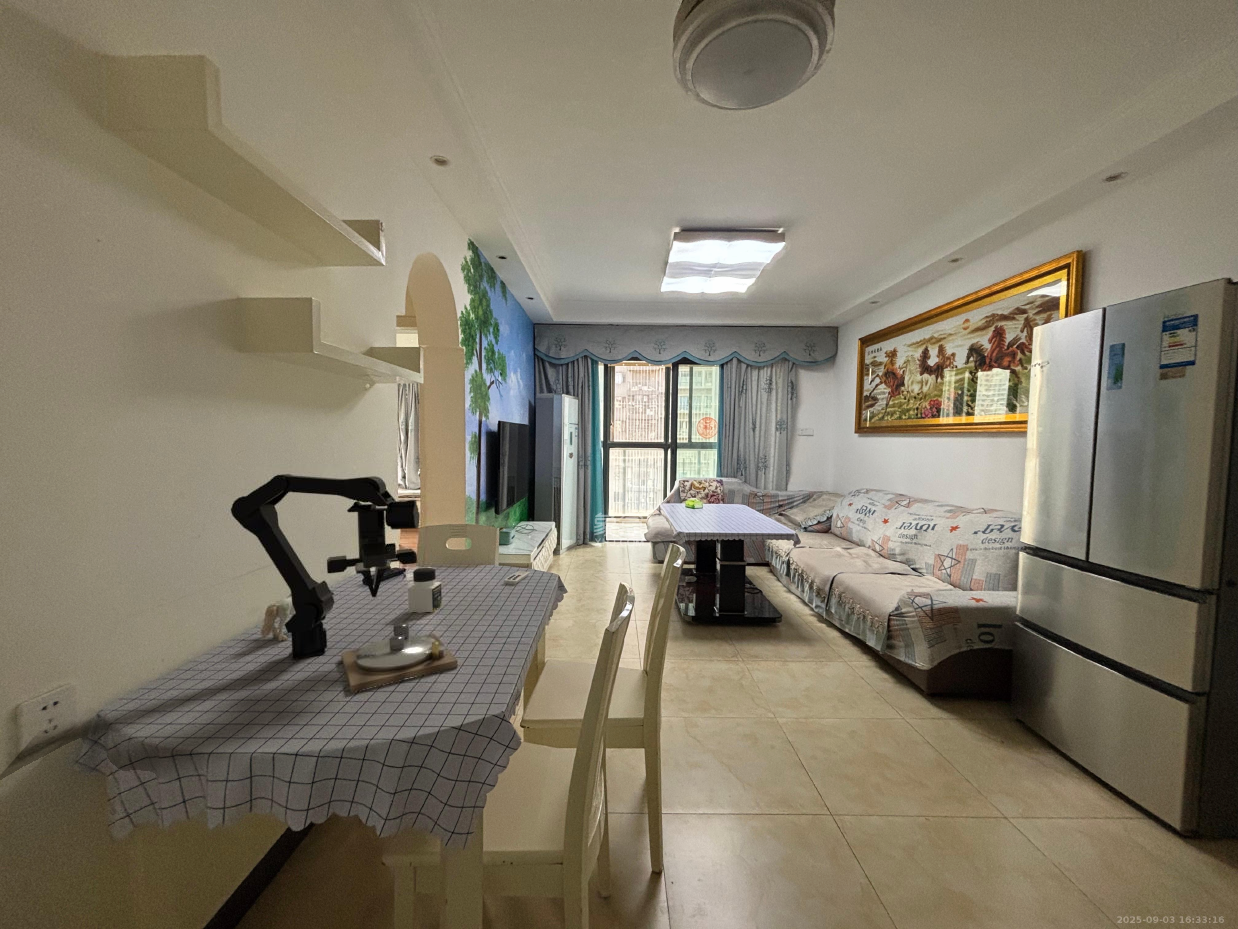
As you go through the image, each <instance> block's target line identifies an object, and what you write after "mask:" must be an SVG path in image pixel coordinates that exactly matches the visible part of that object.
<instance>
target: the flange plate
mask: <svg viewBox="0 0 1238 929" xmlns="http://www.w3.org/2000/svg"><path fill="white" fill-rule="evenodd" d="M409 626H410V624H409V623H408V622H399V623H396V624H394V625H393V636H396V635H404V636H405V648H404V649H401V650H397V651H391V650H390V640H389V638H390V637H388V638H385V639H380V640H377V641H374V642H372V643H370V644H368V645H364V646H363V647H362V649H361V648H360V649H361V650H359V651H358V652H357V654H356V664H357V666H358V667H359V668H361V669H364V670H369V671H389V670H397V669H402V668H407V667H410V666H414V665H417V664H419V663H422V662H424V661H426V660H428V659H430V658H431V657H432V642H436V640H435V639H433V638H431V637H427V636H424V635H419V634H418V635H416V634H415V635H413V634H411V635H410V628H409ZM447 649H448V646H447V645H445V646H439V657H444V656H445V655H446V654H447Z"/></svg>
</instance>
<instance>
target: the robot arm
mask: <svg viewBox="0 0 1238 929" xmlns="http://www.w3.org/2000/svg"><path fill="white" fill-rule="evenodd" d="M289 493H298V494H312V495H313V494H314V495H328V496H339V497H343V498H346V499H349V500H352V501H354V502H353V504H352V505H351V506H349V508H347V510H346V511H347V513H357V535H358V536H357V537H358V540H357V541H358V542H357V543H358V557H354V558H347V555H345V554H344V555H338V556H337V555H336V556H328V558H327V559H326V570H327V571H326V572H327V574H336V573H337V574H338V573H344V572H345V571H346V570H347V569H348V568H353V567H354V571H355V573H356V574H357V575H359V574H361V575H362V576H363V578H364V580H365V582H366V584H367V587H368V590H369V592H370V595H371V597H372V598H377V595H378V592H379V589H380V585H381V582H382V580H383V577H384V576H385V574H386V572H387V571H390V570H392V567H391V564H392V563H394V562H396V563H397V562H399V563H400V564H401V565H413V564H417V563H418V555H417V552H416V551H415V550H413V549H412V548H405V549H404V548H403V549H402V548H401V549H397V545H396V543H395V542H393V543H386V542H387V541H386V526H387V527H390V529H391V530H412V529H413V530H414V529H415V530H416V529H419V526H420V519H421V518H420V515H421V514H420V512H419V506H418V504H417V500H416V499H409V500H396V499H395V498H394V497H393V496H392V494H391V493H390V492H389V490H388V489H387V485H386V482H385V481H384V480H383V479H382V478H381V477H380V476H374V475H373V476H363V477H352V478H333V477H332V478H331V477H322V476H321V477H320V476H319V477H317V476H305V475H304V476H303V475H293V474H291V473H290V474H289V473H285V474H284V473H283V474H277V475H274V476H273V477H272V478H271V479H269V481H267V482H266V483H264V484H263V485H261V486H259V487H257V488H256V489H254V490H253V491H251V492H249V493H248V494H247V495H244V496H240V497H238V498H236V499H235V500H234V501H233V503H232V505H231V508H230V513H231V515H232V517H233V518H234V519H235V520H236V521H237V523H238V524H239V525H240V526H241V527H242V528H244V529H245V530H246V531H247V532H249V533H251V534H253V535H254V536H255V537H256V538H257V539H258V541H259V543H260V545H261V546H262V548H263V549H264V550H265V552H266V553H267V555H268V557H269V559H270V560H271V561H272V563H273V565H274V567H275V568H276V569H277V571H278V572H279V574H280V576H281V577H282V579H283V580H284V582H285V583H286V585H287V587H288V588H289V590H290V594H291V598H292V605H293V608H294V610H295V614H294V615H293V616H292V615H291V616H292V617H290V619H288V621H287V620H286V621H285V623H284V627H285V629H286V631H287V633H288V634H291V650H290V651H291V660H298V659H304V658H308V657H313V656H318V655H322V654H326V649H327V648H328V641H327V640H328V639H327V638H328V637H327V629H326V627H324V624H323V621H324V620H326V617H327V615H328V613H330V612H331V611H332V609H333V608H334V604H335V598H334V595H335V593H334V592H333V591H332V590H331V589H330V588H329V585H328V583H327V581H326V580H324V579H323V580H322V581H321V582H318V581H317V580H316V579H315V580H314V579H313V578H312V576H311V575H310V573H309V572H308V570H307V569H306V567H305V566H304V564H303V562H302V561H301V559H300V558H299V556H298V555H297V553H296V552H295V549H294V548H293V546H292V545H291V544H290V542H289V540H288V538H287V537H286V535H285V533H284V532H283V530H282V529H281V528H280V525H279V517H278V511H277V509H276V505H278V504H279V503H280V502H282V501H283V499H284V498H285V497H286V496H287V495H288V494H289ZM364 503H365V504H364ZM372 568H374V579H373V578H372V571H371V569H372Z"/></svg>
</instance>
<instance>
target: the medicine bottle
mask: <svg viewBox="0 0 1238 929" xmlns="http://www.w3.org/2000/svg"><path fill="white" fill-rule="evenodd" d="M412 575H413V585H412V586H410V587H408V589H407V598H408V599H407V602H408V604H407V605H408V613H409V612H433V613H435V612H436V611H437V610H438V609H439V608H441V607H442V606H443V601H442V600H443V598H442V597H443V596H442V582H441V581H437V578H436V577H437V576H436V575H437V574H436V569H435V568H434V567H431V566H423V567H418V568H416V569H414V570H413V571H412ZM441 605H442V606H441ZM437 608H438V609H437ZM436 609H437V610H436ZM435 610H436V611H435ZM434 611H435V612H434Z"/></svg>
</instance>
